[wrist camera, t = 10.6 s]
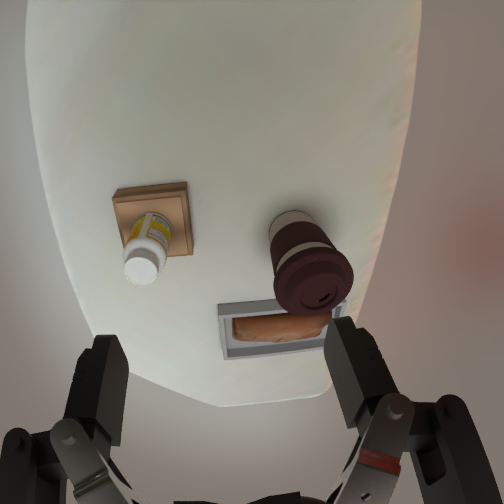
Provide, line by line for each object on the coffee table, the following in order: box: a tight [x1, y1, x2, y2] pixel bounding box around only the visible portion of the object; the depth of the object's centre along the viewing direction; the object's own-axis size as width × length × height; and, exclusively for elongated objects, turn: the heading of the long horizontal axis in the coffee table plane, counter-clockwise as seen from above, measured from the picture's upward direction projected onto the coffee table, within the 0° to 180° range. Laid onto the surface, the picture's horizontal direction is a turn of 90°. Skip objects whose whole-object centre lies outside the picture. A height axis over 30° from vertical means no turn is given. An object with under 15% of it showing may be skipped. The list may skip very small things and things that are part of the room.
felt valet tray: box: [218, 299, 347, 360], centre depth 60 cm, size 13×23×3 cm, turn 91°
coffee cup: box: [269, 211, 354, 316], centre depth 44 cm, size 10×10×15 cm
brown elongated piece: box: [232, 310, 332, 343], centre depth 58 cm, size 18×7×7 cm
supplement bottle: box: [123, 213, 171, 286], centre depth 39 cm, size 5×5×10 cm
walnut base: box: [112, 182, 194, 257], centre depth 44 cm, size 10×10×4 cm
